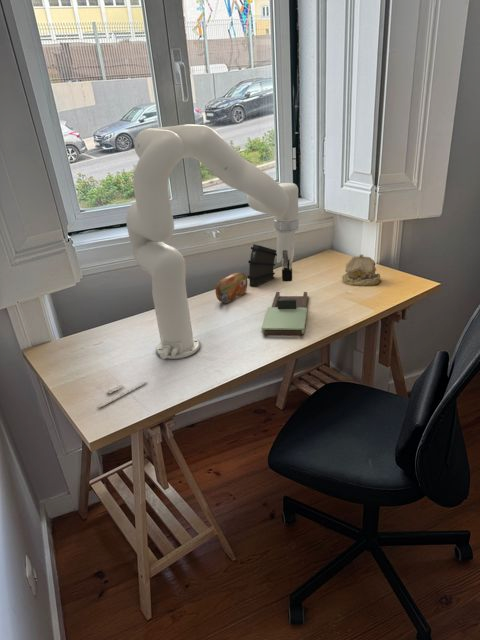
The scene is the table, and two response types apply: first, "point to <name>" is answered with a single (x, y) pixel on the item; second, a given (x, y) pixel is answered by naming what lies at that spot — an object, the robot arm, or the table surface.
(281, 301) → the lid
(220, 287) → the tin
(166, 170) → the robot arm
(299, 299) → the tray
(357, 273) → the ceramic model
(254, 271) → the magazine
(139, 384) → the picture light
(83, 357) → the table surface
